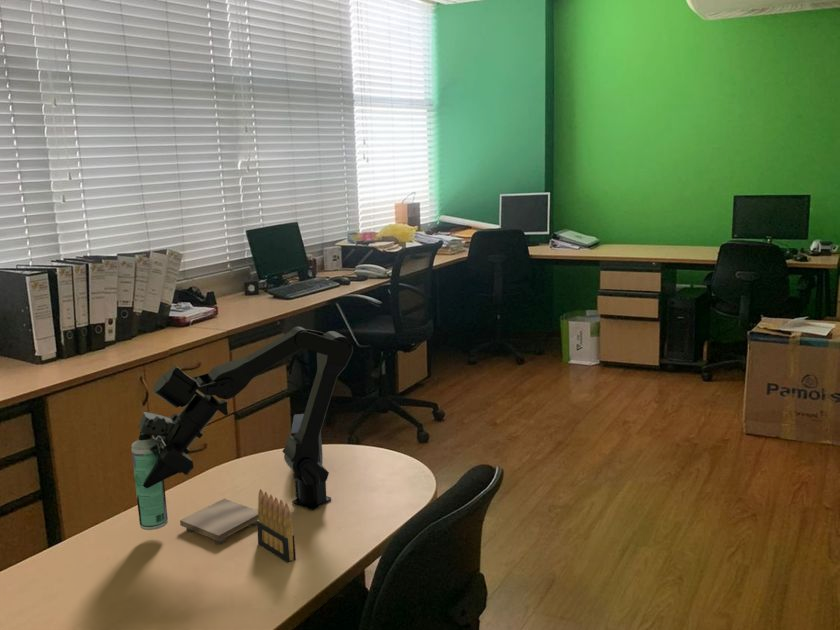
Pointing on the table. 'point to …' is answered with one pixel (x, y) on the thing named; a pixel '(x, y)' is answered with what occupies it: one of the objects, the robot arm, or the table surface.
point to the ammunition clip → (275, 527)
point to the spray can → (153, 497)
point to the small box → (295, 429)
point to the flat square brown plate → (220, 520)
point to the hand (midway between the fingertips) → (142, 481)
